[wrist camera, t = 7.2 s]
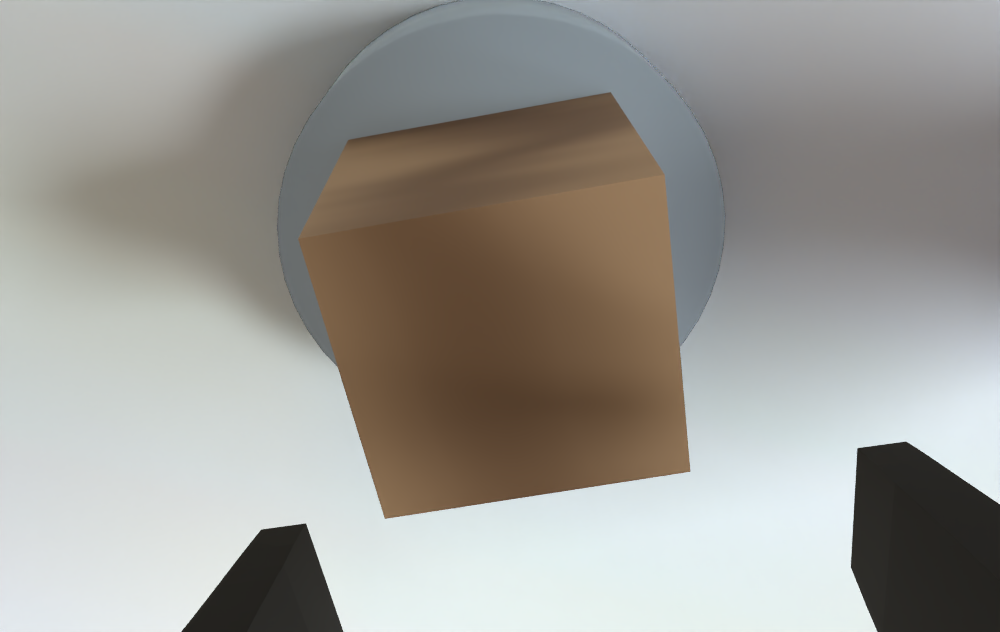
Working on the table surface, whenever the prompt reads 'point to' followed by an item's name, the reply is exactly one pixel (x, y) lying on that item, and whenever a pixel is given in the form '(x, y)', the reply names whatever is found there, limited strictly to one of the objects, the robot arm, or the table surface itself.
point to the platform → (497, 88)
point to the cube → (502, 305)
